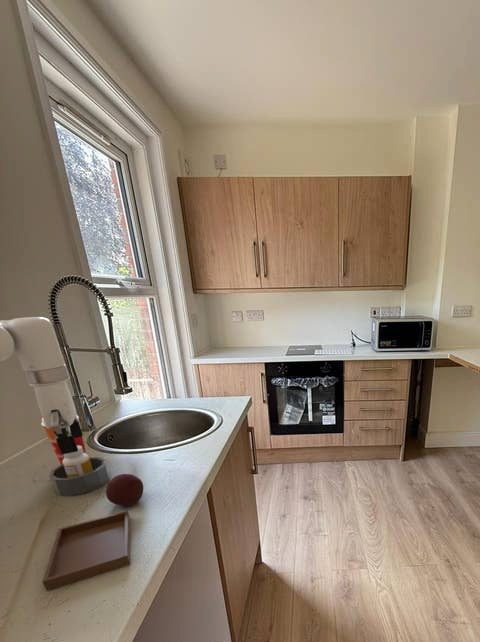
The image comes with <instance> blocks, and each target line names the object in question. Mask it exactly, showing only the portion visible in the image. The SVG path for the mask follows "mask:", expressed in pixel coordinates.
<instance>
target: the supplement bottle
mask: <svg viewBox="0 0 480 642" xmlns="http://www.w3.org/2000/svg"><path fill="white" fill-rule="evenodd" d="M77 448H78V451H77V452H72V453H67V454H63V455H64V457H65V458H64V459H63V465H64V468H65V471H66V474H67V476H68V478H71V477H76V476H81V475H84V474H87V473H89V472H92V471H93V469H92V465H91V462H90V459H89V457H90V456H89V455H88V453H86V454H85V453H83V448H82V446H80V445H77Z"/></svg>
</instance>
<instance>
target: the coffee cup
mask: <svg viewBox="0 0 480 642" xmlns="http://www.w3.org/2000/svg"><path fill="white" fill-rule="evenodd" d="M76 417H77V421H76V422H79V423H80V421H79V419H80V417H79V415H78V414H76ZM60 424H63V423H60ZM40 425H41V426H42V427H43V428H44V431H45V433H46V435H47V437H48V439H49V443H50V444H51V446H52V449H53V451H54V453H55V455H56V458H57V459H58V462H59V465H61V464H63V459H64V458H65V457H64V455H63V454H62V453H61V451H60V449H59V446H58V443H57V441H56V438H55V434H54V429H53V427H52V428H51V429H47V428H46V426H45V423H44V420H43V417H42V418H41V423H40ZM74 439H75V442H76V445H80V446H82V448H83V453H85V454H87V451H86V446H85V442H84V438H83V436H82V437H78V438H74Z"/></svg>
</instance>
